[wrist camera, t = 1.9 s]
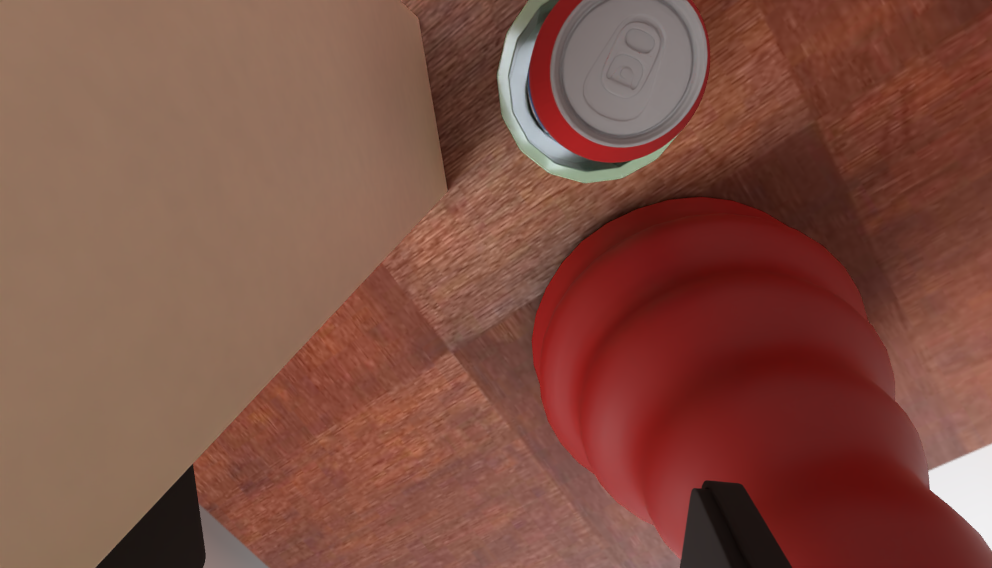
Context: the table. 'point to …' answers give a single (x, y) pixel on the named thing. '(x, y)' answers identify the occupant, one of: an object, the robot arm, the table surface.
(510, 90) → the can holder
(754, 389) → the table lamp
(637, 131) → the beverage can
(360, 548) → the table surface
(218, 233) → the block
